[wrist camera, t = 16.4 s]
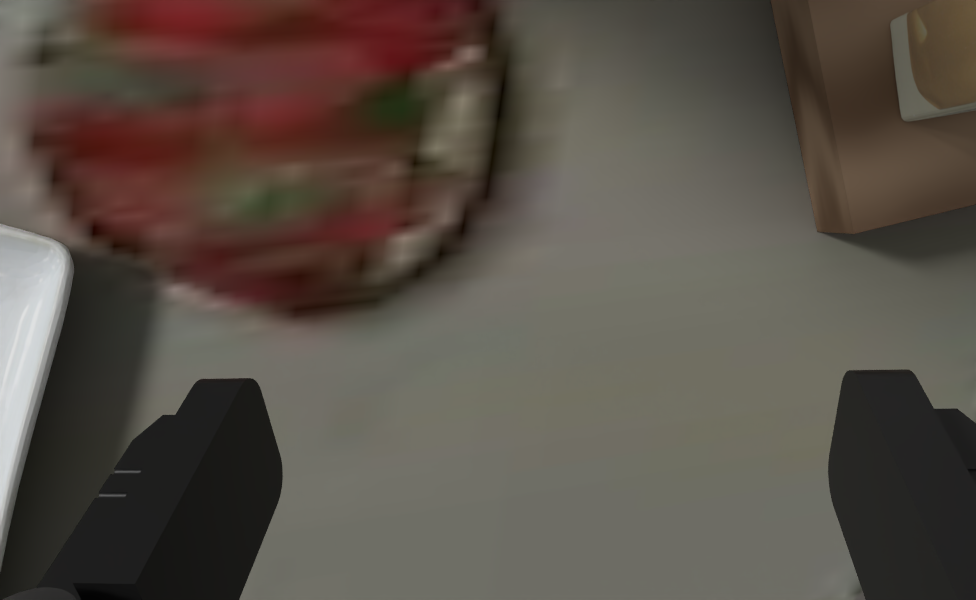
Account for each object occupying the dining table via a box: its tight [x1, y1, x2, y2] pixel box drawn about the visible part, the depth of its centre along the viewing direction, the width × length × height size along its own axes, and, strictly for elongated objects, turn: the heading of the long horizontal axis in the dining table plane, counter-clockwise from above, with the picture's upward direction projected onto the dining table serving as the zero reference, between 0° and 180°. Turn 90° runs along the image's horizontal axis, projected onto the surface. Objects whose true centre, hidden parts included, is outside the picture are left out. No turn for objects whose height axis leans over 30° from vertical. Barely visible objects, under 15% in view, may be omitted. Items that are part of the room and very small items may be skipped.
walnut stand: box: [771, 0, 976, 234], centre depth 37 cm, size 12×12×4 cm
